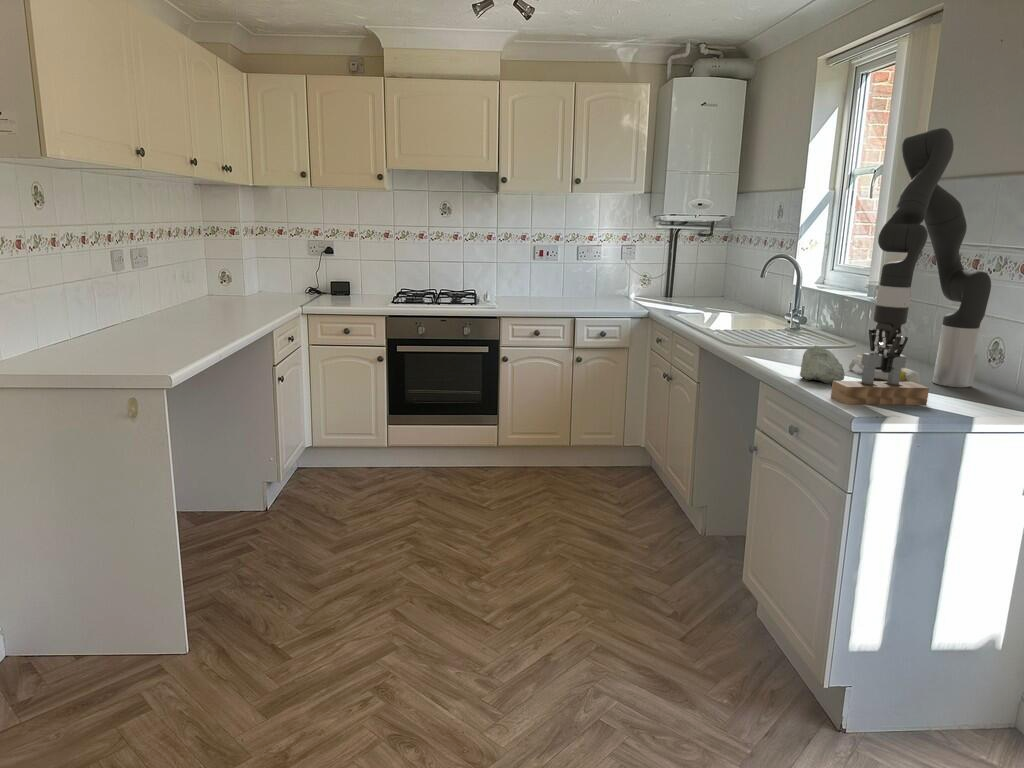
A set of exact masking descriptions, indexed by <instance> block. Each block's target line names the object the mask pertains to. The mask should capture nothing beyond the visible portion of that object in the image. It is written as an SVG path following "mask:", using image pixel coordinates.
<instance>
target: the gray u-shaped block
mask: <svg viewBox="0 0 1024 768" xmlns="http://www.w3.org/2000/svg"><path fill="white" fill-rule="evenodd" d="M883 358H884V354H875V353H874V352H873V353H867V352H866V353H862V357H861V361H860V362H861V365H864V368H863V370H862V376H861V381H862V382H861V384H863V385H865V386H873V381H875V379H874V375H875V368H876V367H882V365H883ZM906 362H907V355H904V354H901V355H900V357H895V358H894V359H893V364H892V370H891V372H890V373H888V380H887V384H888V385H890V386H899V381H900V375H901V368H906Z"/></svg>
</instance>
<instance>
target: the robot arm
mask: <svg viewBox="0 0 1024 768" xmlns="http://www.w3.org/2000/svg"><path fill="white" fill-rule="evenodd" d="M954 145H955V144H954V139H953V136H952V134H951V132H950V131H949V129H947V128H945V127H941V128H935V129H931V130H927V131H924V132H920V133H917V134H913V135H910V136H908V137H905V138H904V139H903V142H902V144H901V155H902V160H903V162H904V165H905V168H906V170H907V173H908V176H909V178H910V181H909V182H908V183H907V184H906V186H905V187H904V188H903V189H902V191H901V193H900V195H899V198H898V200H897V203H896V207H895V209H894V212H893V213H892V215H891V216H890V218H889V219H888V220H887V221H886V223H884V225H883V227H882V228H881V230H880V232H879V234H878V238H877V240H878V241H877V243H878V246H879V248H880V249H881V250H882V251H883V252H886V253H899V254H900V253H901V254H902V253H905V254H906V257H904V258H903V259H902V260H898V261H890V262H886V263H884V264H883V265H882V269H881V274H880V275H881V276H880V281H879V285H878V286H879V287H878V291H877V294H876V301H875V305H874V306H875V307H874V314H873V321H874V322H875V323H877V324H876V325H875V328H870V329H868V338H869V348H870V352H873V353H875V354H884V358H883V365H882V367H876V368H875V369H876V370H882V372H884V373H890V372H891V370H892V364H893V359H894V358H895V357H900V355H902V353H903V350H904V348H905V346H906V344H907V342H908V340H909V339H908V338H909V337H908V336H903V334H902V325H905V324H907V322H908V321H907V320H908V315H909V308H910V302H911V287H912V283H913V276H914V271H915V268H916V264H917V262H918V259H919V257H920V255H921V254H922V251H923V249H924V247H925V246H926V243H927V240H928V236H929V239H930V243H931V246H932V249H933V250H932V251H933V253H934V257H935V260H936V265H937V266H936V267H937V271H938V272H937V273H938V276H939V277H938V278H939V284H940V288H941V292H942V294H943V295H944V297H945V298H946V299H947V300H949V301H952V302H958V303H960V305H959V308H958V309H957V310H956V311H954V312H952V313H948V314H945V315H944V316H943V319H942V322H941V323H942V325H941V330H940V335H939V336H940V337H939V342H938V348H937V352H936V353H937V354H936V359H935V365H934V371H933V377H932V382H933V383H934V384H936V385H939V386H945V387H951V388H968V387H973V384H974V380H975V379H974V378H975V374H976V369H977V368H976V367H977V363H978V355H979V354H978V353H976V351H977V350H976V348H977V343H978V338H979V332H980V327H981V323H982V321H983V320H984V318H985V314H986V311H987V306H988V303H989V299H990V294H991V289H992V279H991V276H990V275H989V274H988V273H987V272H986V271H982V270H972V269H965V268H964V266H963V264H962V261H961V256H960V249H961V246H962V244H963V241H964V239H965V237H966V233H967V227H968V226H967V221H966V217H965V212H964V209H963V206H962V204H961V202H960V201H959V200H958V199H957V198H956V197H955V196H954V195H952V194H951V193H950V192H949V191H947V190H946V189H944V188H943V187H942V186H941V185H940V184H938V183H939V182H940V180H941V178H942V176H943V175H944V173H945V172H946V169H947V166H948V165H949V164H950V161H951V160H952V157H953V152H954ZM923 222H924V223H925V225H923V224H922V223H923Z"/></svg>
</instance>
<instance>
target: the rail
mask: <svg viewBox="0 0 1024 768" xmlns="http://www.w3.org/2000/svg"><path fill="white" fill-rule="evenodd" d="M861 382H862V380H842V381H833V384H831V385H832V387H831V393H830V398H832V399H833V400H836V401H838V402H840V403H842V404H844V405H890V406H891V405H895V406H897V405H898V406H899V405H901V406H903V405H905V406H909V405H910V406H927V405H928V404H927V403H928V397H929V392H930V387H927V386H925V385H922V384H920V383H919V384H917V383H914V382H908V381H907V382H899V386H890V385H888V384H887V381H886V380H882V381H879V380H874V381H873V386H865V385H863V384H861Z"/></svg>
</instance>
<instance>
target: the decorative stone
mask: <svg viewBox="0 0 1024 768" xmlns="http://www.w3.org/2000/svg"><path fill="white" fill-rule="evenodd" d="M801 361H802V362H801V366H800V372H799V376H800V378H802V379H804V380H806V381H814V380H815V381H819V382H821V383H823V384H828V385H832V384H833V381H845V374H846V373H845V369H844V367H843V365H842V363H840V361H839V359H838V358H837V357H836V355H835V354H834V353H833V352H831V351H830V350H829V349H827V348H825V347H823V346H821V345H817V344H815V345H813V346H809V347H807V349H806V350H805V351H804V353H803V354H802V360H801Z"/></svg>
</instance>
